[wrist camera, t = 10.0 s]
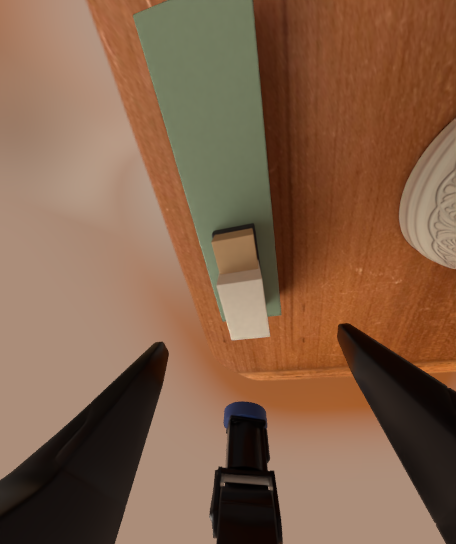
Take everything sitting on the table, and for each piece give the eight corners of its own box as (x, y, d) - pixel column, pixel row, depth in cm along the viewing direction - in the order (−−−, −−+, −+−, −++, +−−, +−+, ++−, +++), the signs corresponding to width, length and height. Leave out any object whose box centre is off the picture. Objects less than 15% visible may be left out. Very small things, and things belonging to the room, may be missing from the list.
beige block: (265, 305, 17) (271, 338, 14) (232, 309, 18) (230, 342, 14) (253, 222, 13) (258, 238, 10) (213, 230, 14) (204, 248, 10)
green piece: (224, 303, 21) (222, 322, 18) (156, 51, 12) (131, 13, 9) (276, 297, 20) (281, 315, 17) (247, 16, 11) (250, -36, 8)
